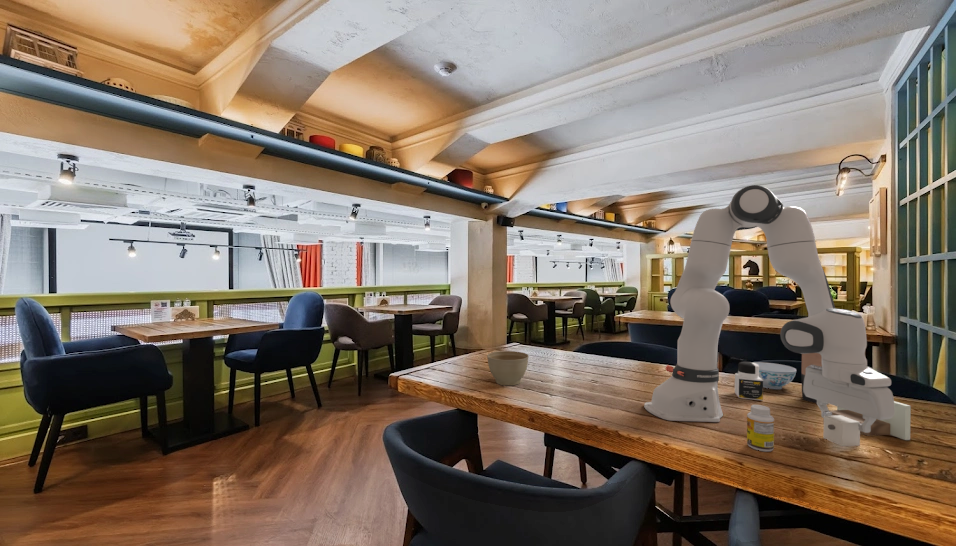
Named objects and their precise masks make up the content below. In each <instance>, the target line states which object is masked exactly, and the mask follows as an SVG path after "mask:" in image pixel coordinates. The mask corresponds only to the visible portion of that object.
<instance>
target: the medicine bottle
mask: <svg viewBox="0 0 956 546" xmlns="http://www.w3.org/2000/svg"><path fill="white" fill-rule="evenodd" d="M737 369H738V370H737V372H736V373H734V394H735V395H736V396H737V397H738V399H744V400H754V401H763V400H764V387H763V380H762V379H761V378H760V377H759V365H758V364H756V363H753V362H751V361H739V362H738V368H737Z"/></svg>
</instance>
